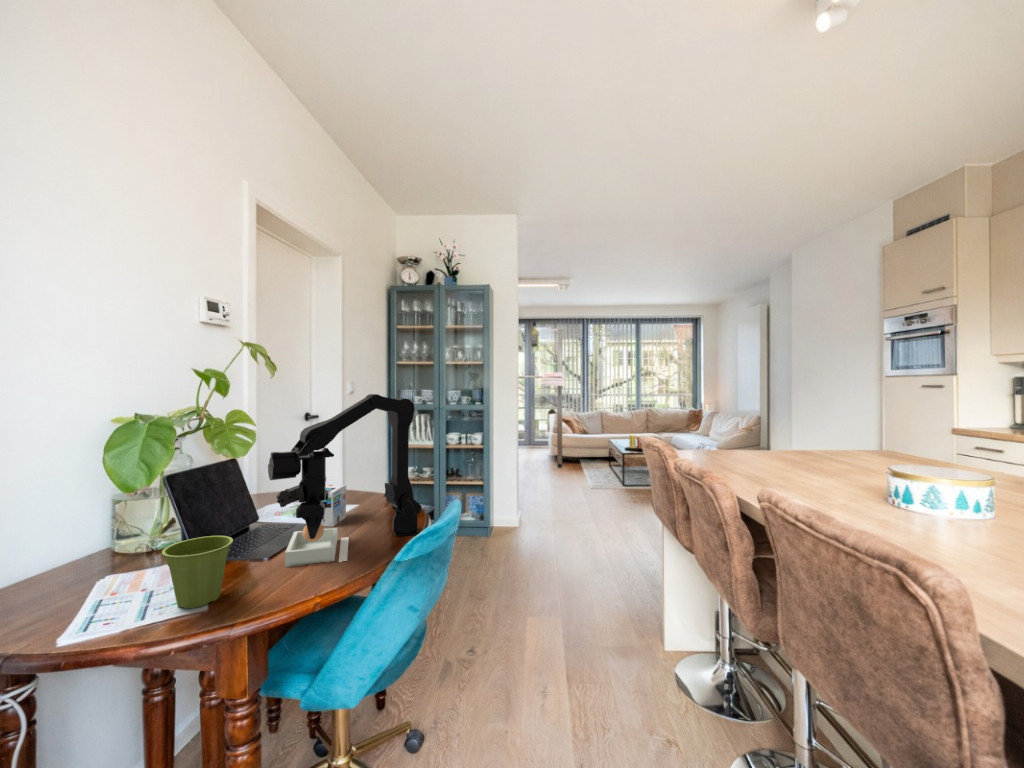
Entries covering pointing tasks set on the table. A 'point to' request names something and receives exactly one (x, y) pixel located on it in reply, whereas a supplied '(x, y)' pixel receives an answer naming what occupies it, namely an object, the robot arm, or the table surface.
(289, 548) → the tray
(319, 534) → the ball
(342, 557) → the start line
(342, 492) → the light bulb box
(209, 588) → the plant pot
